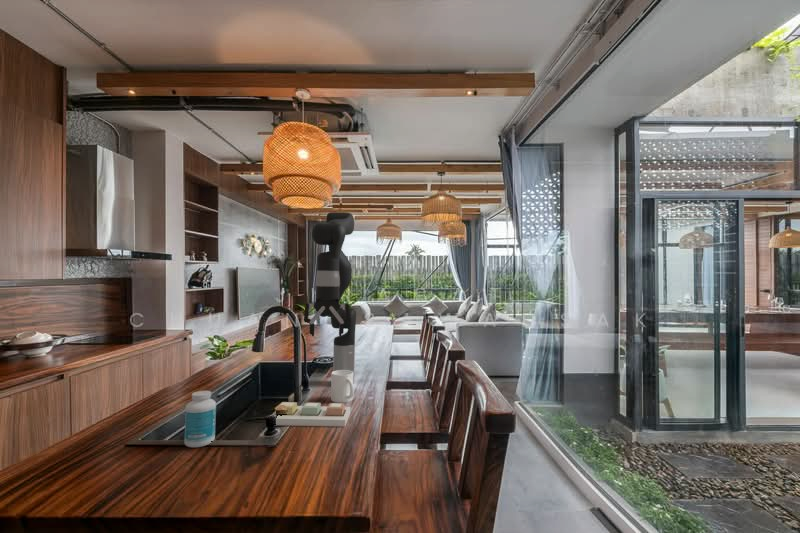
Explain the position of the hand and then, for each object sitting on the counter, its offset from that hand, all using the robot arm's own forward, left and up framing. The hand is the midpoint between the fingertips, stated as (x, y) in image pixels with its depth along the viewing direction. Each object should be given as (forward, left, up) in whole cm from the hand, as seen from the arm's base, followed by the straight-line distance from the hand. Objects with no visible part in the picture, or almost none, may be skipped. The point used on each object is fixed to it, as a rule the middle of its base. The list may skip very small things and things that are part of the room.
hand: (326, 335), depth 118 cm
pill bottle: (+16, -31, -28) cm, 44 cm away
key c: (-3, -13, -26) cm, 29 cm away
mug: (-21, +3, -28) cm, 35 cm away
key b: (-3, -5, -26) cm, 26 cm away
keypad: (-3, -5, -28) cm, 28 cm away
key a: (-3, +3, -26) cm, 26 cm away
